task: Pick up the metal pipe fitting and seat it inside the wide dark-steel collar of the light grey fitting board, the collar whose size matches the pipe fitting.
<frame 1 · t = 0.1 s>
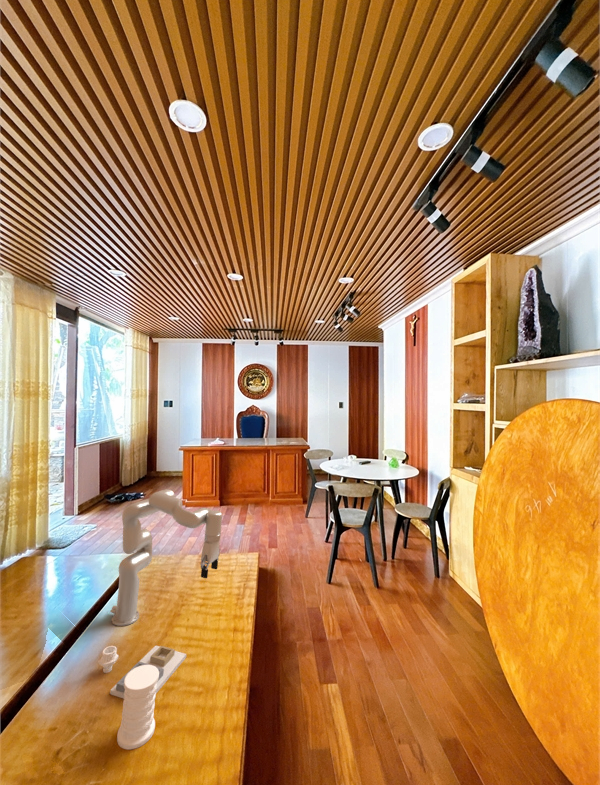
hand: (209, 573, 162), 31 cm above the table, tool pointing down, fingers open, 9 cm apart
pipe fitting: (107, 670, 137), on the table
white carved column: (136, 733, 112), on the table
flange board: (151, 674, 137), on the table
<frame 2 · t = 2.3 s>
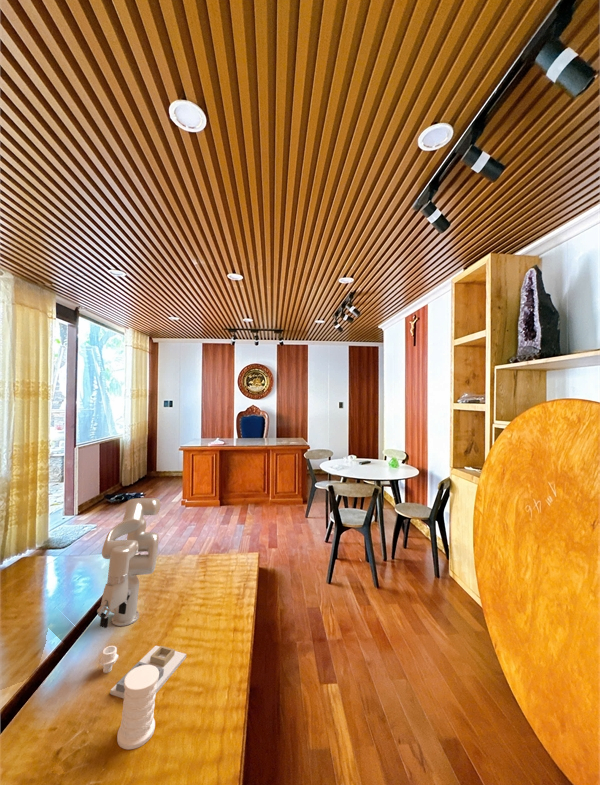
hand: (113, 619, 138), 20 cm above the table, tool pointing down, fingers open, 9 cm apart
nothing on the table moved.
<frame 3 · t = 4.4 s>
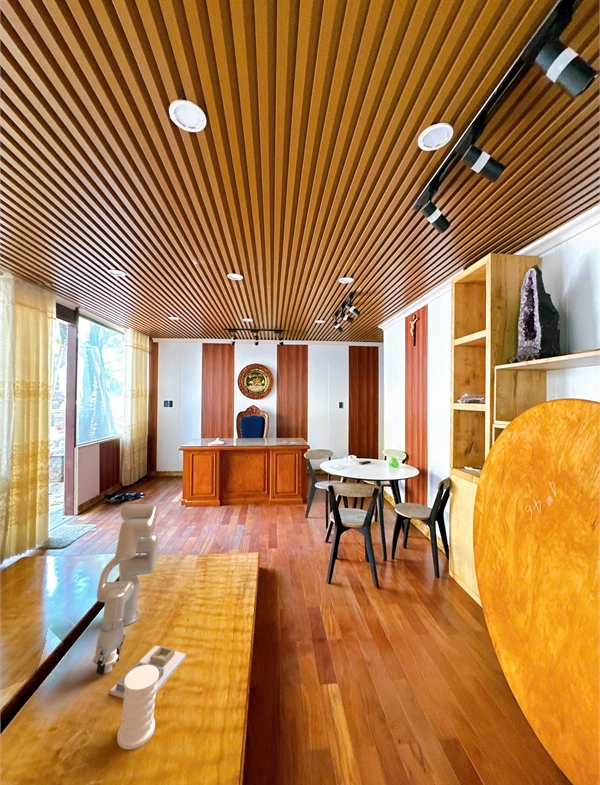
hand: (107, 666, 137), 1 cm above the table, tool pointing down, fingers closed on pipe fitting, 7 cm apart
pipe fitting: (107, 670, 137), on the table, touching gripper
everything else where it was.
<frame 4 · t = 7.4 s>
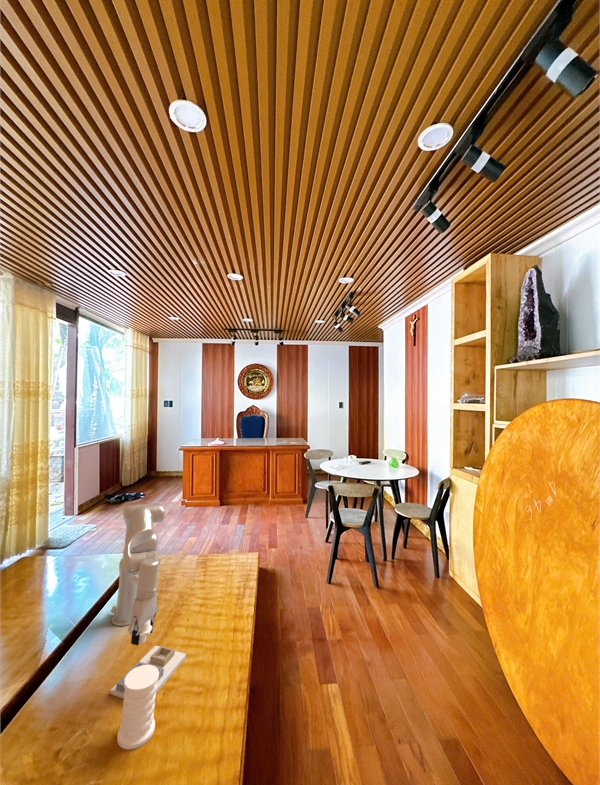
hand: (141, 637, 132), 18 cm above the table, tool pointing down, fingers closed on pipe fitting, 7 cm apart
pipe fitting: (141, 641, 132), point 16 cm above the table, touching gripper
everything else where it was.
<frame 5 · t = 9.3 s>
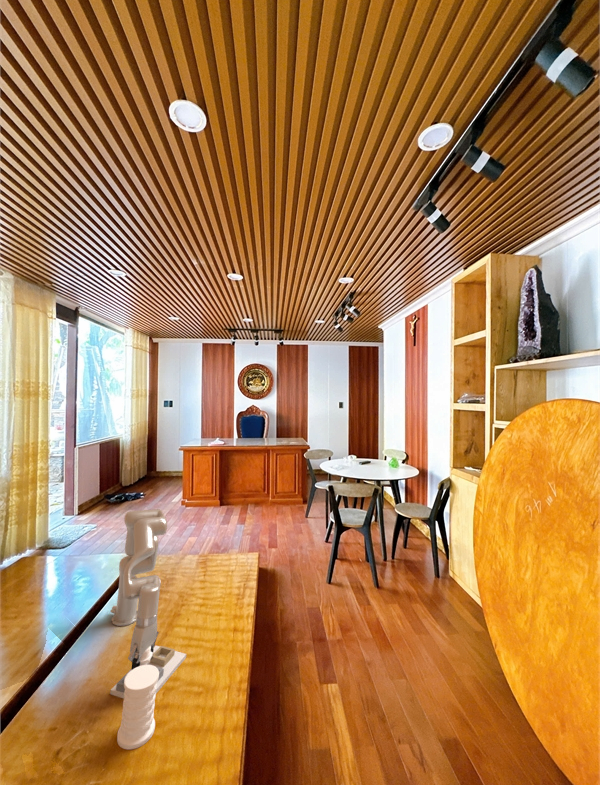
hand: (142, 664, 131), 8 cm above the table, tool pointing down, fingers closed on pipe fitting, 7 cm apart
pipe fitting: (141, 668, 131), point 7 cm above the table, touching gripper
everything else where it was.
when the fingers open (5 cm above the table, at t = 10.6 s): pipe fitting drops 2 cm, resting on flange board.
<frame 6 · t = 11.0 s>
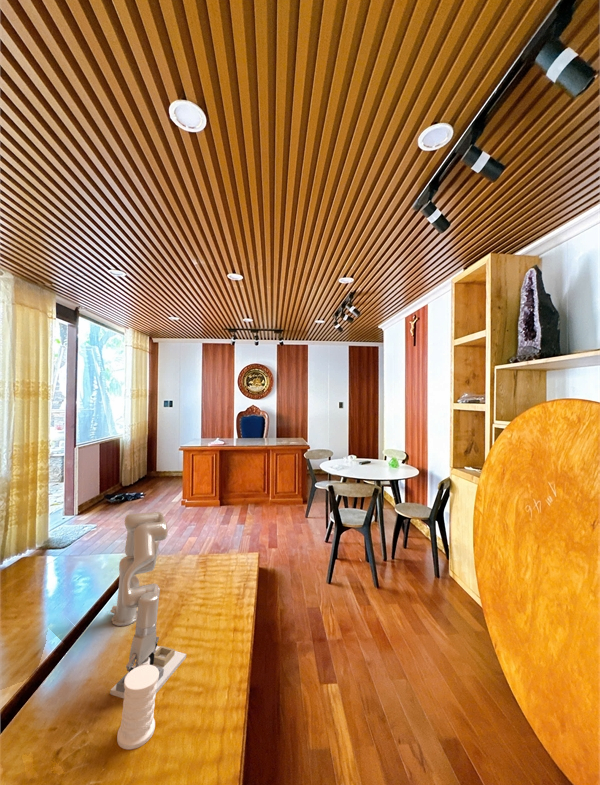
hand: (141, 672, 131), 5 cm above the table, tool pointing down, fingers open, 9 cm apart
pipe fitting: (140, 682, 130), point 1 cm above the table, touching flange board
everything else where it was.
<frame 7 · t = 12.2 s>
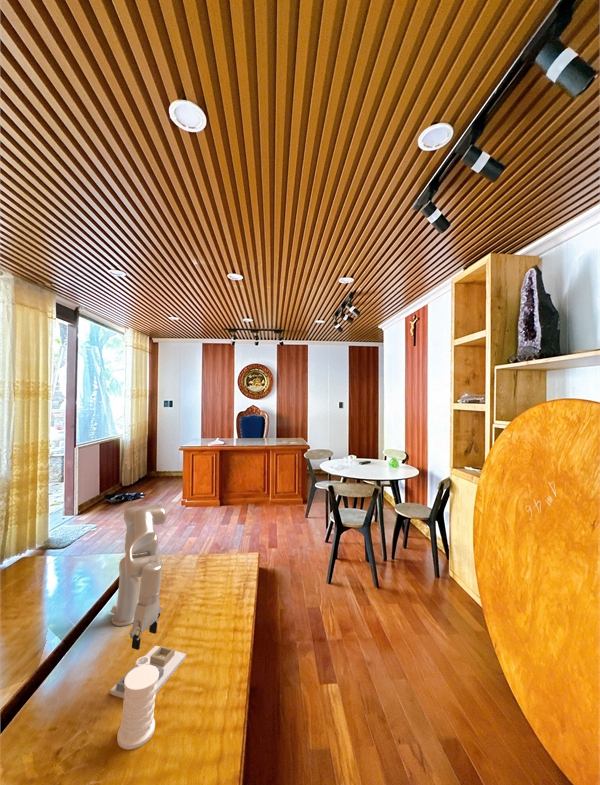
hand: (144, 640, 132), 17 cm above the table, tool pointing down, fingers open, 9 cm apart
nothing on the table moved.
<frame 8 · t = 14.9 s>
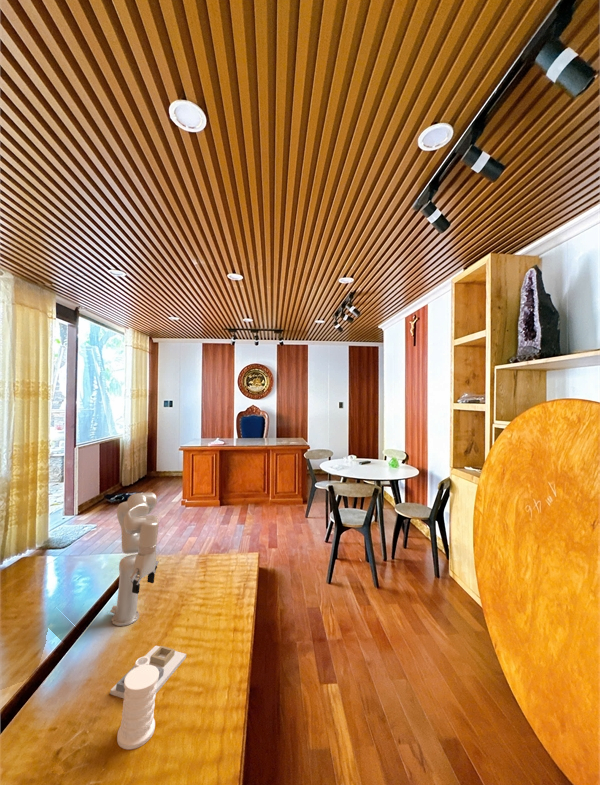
hand: (143, 587, 150), 28 cm above the table, tool pointing down, fingers open, 9 cm apart
nothing on the table moved.
at the end: pipe fitting inside the target area on the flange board (0.1 cm from its centre), point 1.3 cm above the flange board's base; pipe fitting tilted 0°; the gripper is holding nothing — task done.
